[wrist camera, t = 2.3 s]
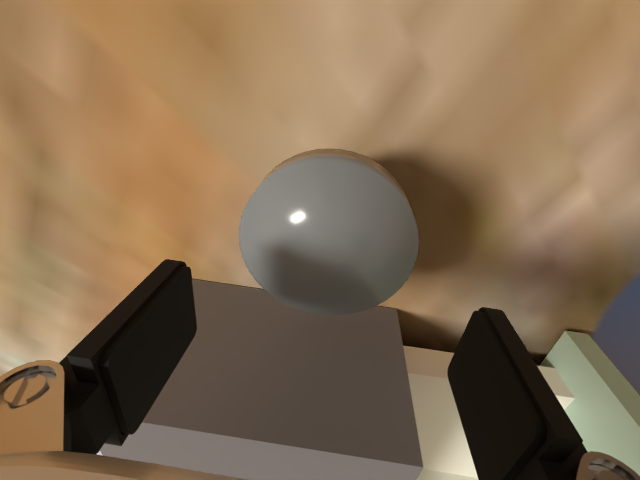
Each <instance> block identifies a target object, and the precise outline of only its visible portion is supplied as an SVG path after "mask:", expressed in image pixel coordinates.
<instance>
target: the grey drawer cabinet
mask: <svg viewBox="0 0 640 480" xmlns="http://www.w3.org/2000/svg"><path fill="white" fill-rule="evenodd" d="M192 285H193V294H194V303H195V313H196V322H197V331H196V334H195V337H194V338H193V340H192V342H191V343H190V345H189V347H188V348H187V350H186V351H185V353H184V355H183V356H182V358H181V360H180V361H179V363H178V365H177V366H176V368H175V369H174V371H173V373H172V374H171V376H170V378H169V379H168V381H167V382H166V384H165V386H164V387H163V389H162V391H161V392H160V394H159V396H158V397H157V399H156V400H155V402H154V404H153V405H152V407H151V409H150V410H149V412H148V413H147V415H146V417H145V418H144V420H143V422H142V423H141V425H140V426H139V428H138V430H137V431H136V432H135V433H134V434H132V435H130V434H129V435H128V437H127V438H126V440H125V441H124V443H123V445H122V446H117V445H111V444H105V443H104V445H103V446H102V448H101V449H100V451H101V453H102V455H103V456H108V457H115V458H121V459H128V460H134V461H141V462H148V463H154V464H160V465H166V466H172V467H177V468H183V469H189V470H195V471H201V472H207V473H212V474H218V475H224V476H230V477H236V478H242V479H247V480H416V479H417V478H418V476H419V474H420V472H421V471H422V469H423V462H422V456H421V450H420V444H419V438H418V432H417V426H416V420H415V414H414V408H413V402H412V396H411V390H410V384H409V378H408V372H407V366H406V360H405V354H404V348H403V343H402V337H401V331H400V325H399V319H398V313H397V309H394V308H387V307H380V306H375V307H372V308H370V309H368V310H364V311H361V312H358V313H353V314H347V315H319V314H313V313H308V312H305V311H301V310H298V309H295V308H293V307H291V306H288V305H286V304H284V303H283V302H281V301H279V300H277V299H276V298H275V297H273V296H272V295H270V294H269V293H268V292H267V291H266V290H264V289H257V288H251V287H244V286H237V285H230V284H223V283H217V282H210V281H203V280H196V279H192Z"/></svg>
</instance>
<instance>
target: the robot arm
mask: <svg viewBox="0 0 640 480" xmlns="http://www.w3.org/2000/svg"><path fill="white" fill-rule="evenodd" d="M196 331H197V322H196V313H195V303H194V294H193V285H192V276H191V269H190V267H186V264H185V262H182V261H175V260H169V259H166V260H164V261H163V262H162V263H161V264H160V265H159V266H158V267H157V268H156V269H155V270H154V271H153V272H152V273H151V274H150V275H149V276H148V277H147V278H145V279H144V280H143V281H142V282H141V283H140V284H139V285H138V286H137V287H136V288H135V289H134V290H133V291H132V292H131V293H130V294H129V295H128V296H127V297H126V298H125V299H124V300H123V301H122V302H121V303H120V304H119V305H118V306H117V307H116V308H115V309H114V310H113V311H112V312H111V313H110V314H109V315H108V316H106V317H105V318H104V319H103V320H102V321H101V322H100V323H99V324H98V325H97V326H96V327H95V328H94V329H93V330H92V331H91V332H90V333H89V334H88V335H87V336H86V337H85V338H84V339H83V340H82V341H81V342H80V343H79V344H78V345H77V346H76V347H75V348H74V349H73V350H72V351H71V352H70V353H69V354H67V356H66V357H65V358H64V359H63V360H62V361H61V362H60V363H58V362H54V361H50V360H40V361H35V362H30V363H27V364H24V365H21V366H19V367H16V368H14V369H12V370H10V371H9V372H7V373H5V374H3V375H2V376H1V377H0V480H247V479H242V478H236V477H230V476H224V475H218V474H212V473H207V472H201V471H195V470H189V469H183V468H177V467H172V466H166V465H160V464H154V463H148V462H141V461H134V460H128V459H121V458H115V457H108V456H101V455H97V454H96V453H98V452H99V451H100V449H101V448H102V446H103V445H104V443H105V444H111V445H117V446H122V445H123V443H124V441H125V440H126V438H127V437H128V435H129V434H130V435H132V434H134V433H135V432H136V431H137V430H138V428H139V426H140V425H141V423H142V422H143V420H144V418H145V417H146V415H147V413H148V412H149V410H150V409H151V407H152V405H153V404H154V402H155V400H156V399H157V397H158V396H159V394H160V392H161V391H162V389H163V387H164V386H165V384H166V382H167V381H168V379H169V378H170V376H171V374H172V373H173V371H174V369H175V368H176V366H177V365H178V363H179V361H180V360H181V358H182V356H183V355H184V353H185V351H186V350H187V348H188V347H189V345H190V343H191V342H192V340H193V338H194V337H195V334H196ZM447 375H448V380H449V383H450V387H451V390H452V393H453V397H454V400H455V403H456V406H457V410H458V413H459V416H460V420H461V423H462V426H463V430H464V433H465V436H466V440H467V443H468V446H469V449H470V453H471V456H472V459H473V463H474V466H475V469H476V473H477V476H478V479H479V480H640V476H639V475H638V474H637V473H636V472H635V471H634V470H632V469H631V468H630V467H628V466H627V465H626V464H624V463H623V462H621V461H619V460H617V459H616V458H614V457H612V456H610V455H607V454H604V453H601V452H593V451H590V452H588V451H587V450H586V448H585V446H584V445H583V443H582V442H583V439H582V438H581V436H580V435H579V433H578V431H577V430H576V428H575V426H574V425H573V423H572V422H571V420H570V418H569V417H568V415H567V414H566V412H565V410H564V409H563V407H562V405H561V404H560V402H559V401H558V399H557V397H556V396H555V394H554V393H553V391H552V389H551V388H550V386H549V384H548V383H547V381H546V380H545V378H544V376H543V375H542V373H541V372H540V370H539V368H538V367H537V365H536V363H535V362H534V360H533V359H532V357H531V355H530V354H529V352H528V351H527V349H526V347H525V346H524V344H523V342H522V341H521V339H520V338H519V336H518V334H517V333H516V331H515V330H514V328H513V326H512V325H511V323H510V321H509V320H508V318H507V317H506V315H505V313H504V312H503V311H501V310H498V309H491V308H484V307H482V308H480V309H479V310H478V311H474V312H473V314H472V316H471V318H470V320H469V322H468V324H467V327H466V329H465V331H464V333H463V335H462V338H461V340H460V342H459V344H458V346H457V349H456V351H455V353H454V355H453V357H452V359H451V362H450V364H449V366H448V371H447Z"/></svg>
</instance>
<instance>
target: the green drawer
mask: <svg viewBox="0 0 640 480" xmlns="http://www.w3.org/2000/svg"><path fill="white" fill-rule="evenodd" d="M403 348H404V354H405V360H406V366H407V372H408V378H409V384H410V390H411V396H412V402H413V408H414V414H415V420H416V426H417V432H418V438H419V444H420V450H421V456H422V462H423V469H422V471H421V472H420V474H419V476H418V478H417V479H416V480H479V479H478V476H477V473H476V469H475V466H474V463H473V459H472V456H471V453H470V449H469V446H468V443H467V440H466V436H465V433H464V430H463V426H462V423H461V420H460V416H459V413H458V410H457V406H456V403H455V400H454V397H453V393H452V390H451V387H450V383H449V380H448V375H447V371H448V366H449V364H450V362H451V359H452V357H453V355H454V353H450V352H444V351H437V350H430V349H423V348H417V347H410V346H403ZM537 367H538V368H539V370H540V372H541V373H542V375H543V376H544V378H545V380H546V381H547V383H548V384H549V386H550V388H551V389H552V391H553V393H554V394H555V396H556V397H557V399H558V401H559V402H560V404H561V405H562V407H563V409H564V410H565V412H566V414H567V415H568V417H569V418H570V420H571V422H572V423H573V425H574V426H575V428H576V430H577V431H578V433H579V435H580V436H581V438H582V439H583V442H582V443H583V445H584V446H585V448H586V450H587V451H588V452H590V451H593V452H601V453H604V454H607V455H610V456H612V457H614V458H616V459H617V460H619V461H621V462H623V463H624V464H626V465H627V466H628V467H630V468H631V469H632V470H634V471H635V472H636V473H637V474H638V475H639V476H640V395H639V394H638V393H637V392H636V390H635V389H634V388H633V387H632V386H631V384H630V383H629V382H628V381H627V380H626V378H625V377H624V376H623V375H622V374H621V373H620V371H619V370H618V369H617V368H616V367H615V365H614V364H613V363H612V362H611V361H610V360H609V358H608V357H607V356H606V355H605V354H604V352H603V351H602V350H601V349H600V348H599V346H598V345H597V344H596V343H595V342H594V340H593V339H592V338H591V337H590V336H589V334H585V333H578V332H571V331H565V332H564V333H563V334H562V336H561V337H560V338H559V340H558V341H557V343H556V344H555V345H554V347H553V348H552V349H551V351H550V352H549V353H548V355H547V356H546V358H545V359H544V360H543V362H542V363H541V364H540V366H537Z"/></svg>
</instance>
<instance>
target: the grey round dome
mask: <svg viewBox="0 0 640 480" xmlns="http://www.w3.org/2000/svg"><path fill="white" fill-rule="evenodd" d="M239 243H240V249H241V253H242V257H243V259H244V261H245V264H246V266H247V268H248V270H249V271H250V273H251V275H252V276H253V277H254V279H255V280H256V281H257V282H258V283H259V285H260V286H261V287H262V288H263V289H264V290H266V291H267V292H268V293H269V294H270V295H272V296H273V297H275V298H276V299H277V300H279V301H281V302H283V303H284V304H286V305H288V306H291V307H293V308H295V309H298V310H301V311H305V312H308V313H313V314H319V315H347V314H353V313H358V312H361V311H364V310H368V309H370V308H372V307H375V306H377V305H379V304H380V303H382V302H384V301H386V300H387V299H388V298H390V297H391V296H392V295H394V294H395V293H396V292H397V291H398V290H399V289H400V288H401V287H402V285H403V284H404V283H405V282H406V281H407V279H408V277H409V276H410V274H411V272H412V270H413V268H414V265H415V263H416V259H417V255H418V249H419V234H418V228H417V224H416V220H415V217H414V215H413V212H412V209H411V207H410V204H409V201H408V199H407V197H406V194H405V192H404V190H403V189H402V187H401V185H400V184H399V183H398V181H397V180H396V179H395V178H394V176H393V175H392V174H391V173H389V172H388V171H387V170H386V169H385V168H384V167H382V166H381V165H380V164H378V163H377V162H375V161H373V160H371V159H369V158H367V157H365V156H363V155H360V154H357V153H354V152H351V151H346V150H341V149H317V150H312V151H307V152H303V153H300V154H298V155H295V156H293V157H291V158H289V159H287V160H285V161H283V162H282V163H280V164H279V165H278V166H276V167H275V168H274V169H273V170H272V171H271V172H270V173H269V174H268V175H267V176H266V177H265V179H264V180H263V181H262V182H261V184H260V185H259V186H258V188H257V189H256V190H255V192H254V193H253V195H252V196H251V197H250V199H249V201H248V203H247V204H246V206H245V208H244V211H243V214H242V216H241V221H240V226H239Z"/></svg>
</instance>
